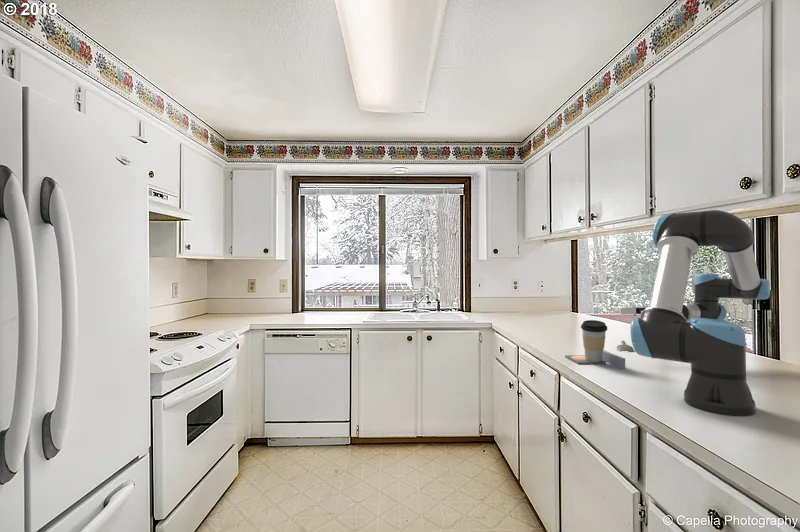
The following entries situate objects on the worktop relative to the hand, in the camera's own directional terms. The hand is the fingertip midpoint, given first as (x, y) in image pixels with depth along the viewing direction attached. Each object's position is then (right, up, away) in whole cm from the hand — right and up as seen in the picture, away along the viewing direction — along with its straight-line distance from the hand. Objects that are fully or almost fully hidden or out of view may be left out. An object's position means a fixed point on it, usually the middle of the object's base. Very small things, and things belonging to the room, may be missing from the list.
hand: (630, 312), depth 152 cm
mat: (-16, -20, +5) cm, 26 cm away
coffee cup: (-14, -19, +2) cm, 23 cm away
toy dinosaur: (+15, -21, +30) cm, 39 cm away
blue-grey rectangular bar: (-8, -20, +1) cm, 22 cm away
